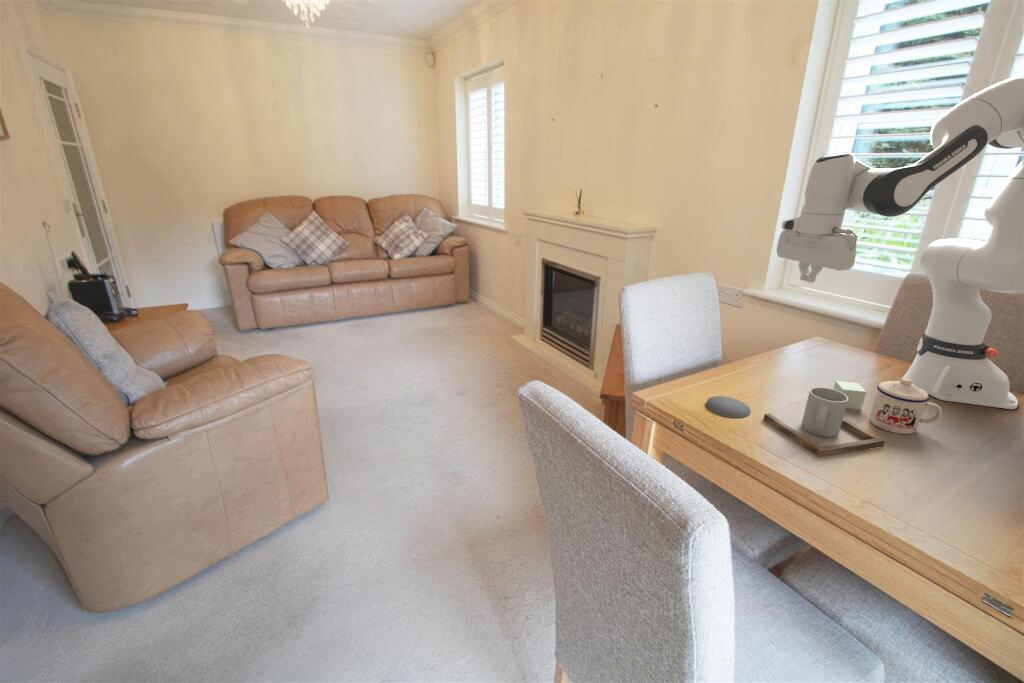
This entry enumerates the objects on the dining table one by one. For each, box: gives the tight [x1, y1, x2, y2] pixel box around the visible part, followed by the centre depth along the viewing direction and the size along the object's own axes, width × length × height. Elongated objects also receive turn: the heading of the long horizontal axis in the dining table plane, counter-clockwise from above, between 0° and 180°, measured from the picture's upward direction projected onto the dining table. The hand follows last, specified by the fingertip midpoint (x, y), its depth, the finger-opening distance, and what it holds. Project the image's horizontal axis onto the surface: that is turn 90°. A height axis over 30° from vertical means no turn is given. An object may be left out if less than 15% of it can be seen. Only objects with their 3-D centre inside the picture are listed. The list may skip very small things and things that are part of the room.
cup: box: [801, 386, 848, 438], centre depth 102 cm, size 7×10×9 cm
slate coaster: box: [706, 395, 752, 419], centre depth 114 cm, size 10×10×1 cm
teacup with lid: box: [868, 377, 943, 435], centre depth 104 cm, size 12×9×12 cm
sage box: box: [833, 380, 867, 410], centre depth 115 cm, size 5×5×5 cm
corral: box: [763, 413, 886, 458], centre depth 103 cm, size 16×16×2 cm
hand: (807, 281), depth 116 cm, fingers closed
